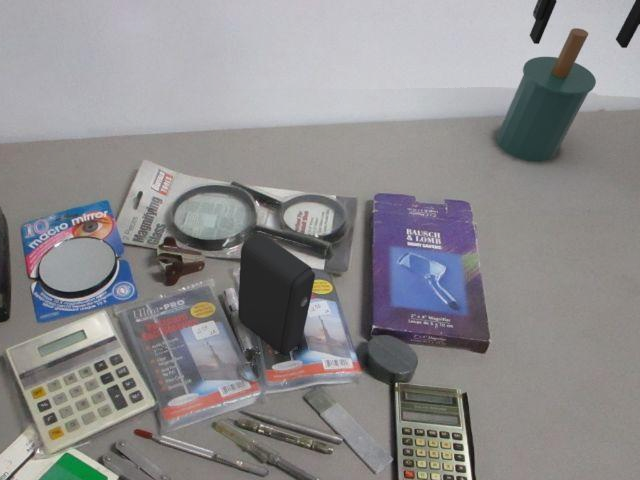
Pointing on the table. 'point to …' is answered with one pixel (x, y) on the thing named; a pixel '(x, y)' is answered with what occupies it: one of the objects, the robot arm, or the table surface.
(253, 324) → the black rectangular block
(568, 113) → the tin
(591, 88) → the tin lid
